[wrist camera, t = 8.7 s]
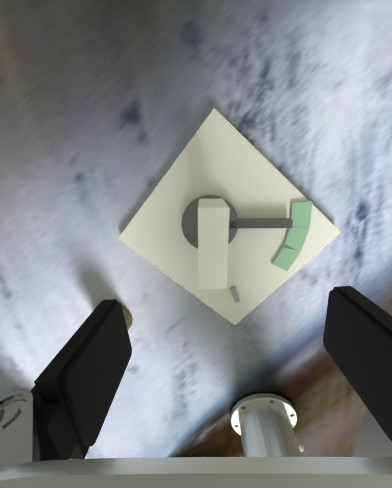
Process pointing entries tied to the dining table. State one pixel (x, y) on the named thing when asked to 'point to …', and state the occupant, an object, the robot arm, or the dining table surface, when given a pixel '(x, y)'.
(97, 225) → the dining table surface
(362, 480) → the robot arm
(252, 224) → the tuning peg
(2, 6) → the dining table surface
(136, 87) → the dining table surface
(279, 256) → the dial board
